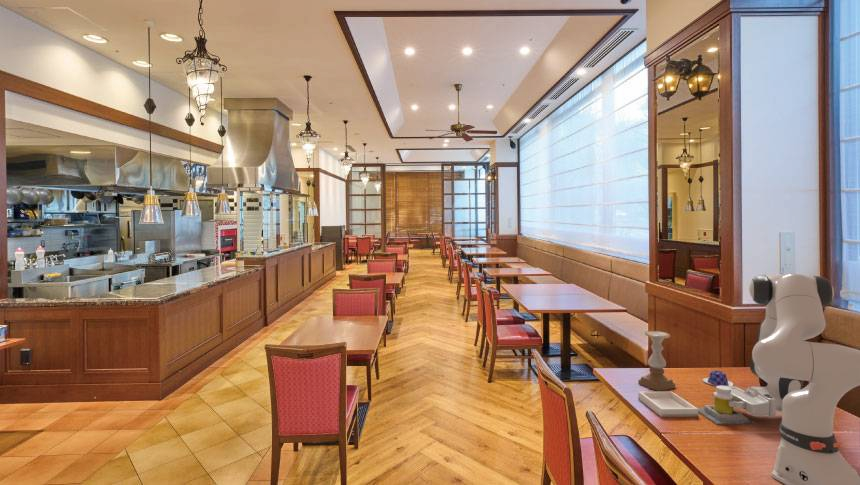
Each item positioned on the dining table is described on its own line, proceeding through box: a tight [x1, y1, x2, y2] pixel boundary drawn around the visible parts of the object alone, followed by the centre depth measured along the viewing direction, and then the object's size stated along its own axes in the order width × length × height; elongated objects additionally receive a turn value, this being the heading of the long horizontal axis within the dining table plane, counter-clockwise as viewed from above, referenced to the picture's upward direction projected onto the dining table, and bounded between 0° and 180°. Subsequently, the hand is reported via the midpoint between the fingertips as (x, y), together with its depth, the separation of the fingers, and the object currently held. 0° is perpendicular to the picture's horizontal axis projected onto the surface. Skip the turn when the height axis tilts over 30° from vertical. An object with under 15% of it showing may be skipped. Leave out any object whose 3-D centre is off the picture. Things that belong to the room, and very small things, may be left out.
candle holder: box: [637, 330, 676, 391], centre depth 200 cm, size 11×11×24 cm
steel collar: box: [697, 404, 756, 426], centre depth 168 cm, size 14×14×2 cm
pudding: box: [702, 370, 735, 387], centre depth 204 cm, size 12×12×5 cm
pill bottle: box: [713, 386, 734, 414], centre depth 168 cm, size 6×6×11 cm
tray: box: [638, 390, 699, 418], centre depth 177 cm, size 18×14×3 cm
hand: (721, 399), depth 168 cm, fingers open, 7 cm apart
